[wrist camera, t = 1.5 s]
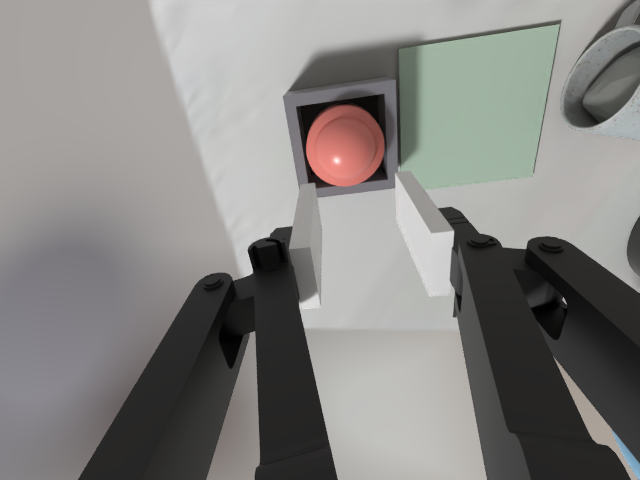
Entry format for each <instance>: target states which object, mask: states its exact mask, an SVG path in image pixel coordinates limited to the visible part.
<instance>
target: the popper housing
mask: <svg viewBox="0 0 640 480" xmlns="http://www.w3.org/2000/svg"><path fill="white" fill-rule="evenodd" d="M372 95H378V106H379V127H380V129H381V131H382V133H383V137H384V155H383V158H382V161H381V167H378V168H377V170H376V171H375V172H374V173H373V174H372V175H371V176H370V177H369V178H368V179H366V180H365V181H363V182H361V183H359V184H356V185H352V186H336V185H332V184H329V183H327V182H325V181H324V180H322V179H321V178H320V177H318V176H317V175H311V174H310V168H309V161H308V158H307V153H306V142H305V136H304V129H303V123H302V116H301V110H300V106H303V105H310V104H317V103H323V102H330V101H337V100H344V99H351V98H358V97H365V96H372ZM283 100H284V105H285V111H286V117H287V123H288V128H289V134H290V140H291V145H292V151H293V157H294V162H295V168H296V174H297V179H298V185H299V190H300V185H301V184H309V183H315V187H316V193H317V198H319V197H327V196H335V195H343V194H351V193H360V192H368V191H376V190H384V189H392V188H395V173H396V172H398V155H397V110H396V79H393V78H390V77H381V78H374V79H367V80H360V81H354V82H347V83H340V84H333V85H327V86H320V87H313V88H306V89H300V90H293V91H287V92H286V94H285V95H284V96H283Z"/></svg>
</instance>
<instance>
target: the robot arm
mask: <svg viewBox="0 0 640 480" xmlns="http://www.w3.org/2000/svg"><path fill="white" fill-rule="evenodd" d="M395 189H396V221H397V223H398V225H399V228H400V230H401V232H402V235H403V237H404V239H405V242H406V244H407V246H408V249H409V251H410V253H411V256H412V258H413V260H414V263H415V265H416V267H417V269H418V272H419V274H420V276H421V279H422V281H423V283H424V286H425V288H426V290H427V293H428V295H429V297H432V296H443V295H450V285H451V284H452V286H453V287H454V289H455V298H454V311H453V317H456V316H457V319H458V324H459V330H460V335H461V340H462V346H463V351H464V357H465V362H466V368H467V373H468V378H469V383H470V389H471V395H472V400H473V405H474V410H475V416H476V422H477V427H478V433H479V438H480V443H481V449H482V454H483V460H484V465H485V471H486V476H487V480H631V479H630V477H629V475H628V473H627V472H626V469H625V467H624V466H623V464H622V462H621V461H620V459H619V458H618V456H617V455H616V453H615V452H614V451H613V450H611V448H609V447H608V446H606V445H601V444H597V443H596V442H595V441H594V440H593V439H592V438H591V436H590V434H589V432H588V430H587V428H586V426H585V424H584V422H583V420H582V418H581V415H580V413H579V411H578V409H577V407H576V405H575V402H574V400H573V398H572V396H571V394H570V392H569V389H568V387H567V385H566V383H565V381H564V379H563V377H562V375H561V373H560V370H559V368H558V366H557V364H556V362H555V360H554V357H555V359H556V360H557V361H558V362H559V364H560V365H561V366H562V367H563V368H564V370H565V371H566V372H567V373H568V375H569V376H570V377H571V379H572V380H573V381H574V382H575V383H576V385H577V386H578V387H579V388H580V390H581V391H582V392H583V394H584V395H585V396H586V397H587V399H588V400H589V401H590V402H591V404H592V405H593V406H594V407H595V409H596V410H597V411H598V412H599V414H600V415H601V416H602V417H603V419H604V420H605V421H606V422H607V424H608V425H609V426H610V427H611V428H612V432H613V435H614V437H615V440H616V442H617V444H618V446H619V448H620V450H621V452H622V453H623V455H624V457H625V459H626V460H627V462H628V464H629V466H630V467H631V469H632V470H633V472H634V473H635V475H636V476H637V478H638V479H639V480H640V293H638V292H637V291H636V290H634V289H633V288H631V287H630V286H629V285H627V284H626V283H625V282H623V281H622V280H620V279H619V278H618V277H616V276H615V275H614V274H612V273H611V272H609V271H608V270H607V269H605V268H604V267H603V266H601V265H600V264H598V263H597V262H596V261H594V260H593V259H592V258H590V257H589V256H587V255H586V254H585V253H583V252H582V251H581V250H579V249H578V248H577V247H575V246H574V245H572V244H571V243H569V242H567V241H565V240H562V239H558V238H556V237H549V236H546V237H536V238H532V239H531V240H529V241H528V243H527V249H513V248H503V247H502V245H501V243H500V242H499V241H498V240H497V239H496V238H494V237H492V236H489V235H485V234H479V232H478V231H477V230H476V229H475V228H474V227H473V225H472V224H471V223H469V221H468V220H467V218H465V216H464V215H463V214H462V213H461V211H459V210H457V209H455V208H452V207H446V208H437V207H436V205H435V204H434V203H433V201H432V200H431V199H430V197H429V196H428V194H427V193H426V192H425V190H424V189H423V188H422V186H421V185H420V184H419V182H418V181H417V179H416V178H415V177H414V175H413V174H412V173H411V171H404V172H396V173H395ZM248 254H249V257H250V261H251V264H252V268H253V274H251V275H249V276H247V277H244V278H241V279H238V280H235V281H233V280H232V277H231V276H230V275H229V274H227V273H215V274H210V275H207V276H205V277H204V278H203V279H201V280H199V282H198V283H197V284H196V285H195V286H194V288H193V290H192V291H191V293H190V295H189V296H188V298H187V300H186V301H185V303H184V305H183V306H182V308H181V309H180V311H179V313H178V314H177V316H176V318H175V320H174V321H173V323H172V324H171V326H170V328H169V329H168V331H167V333H166V334H165V336H164V338H163V340H162V341H161V343H160V344H159V346H158V348H157V349H156V351H155V353H154V354H153V356H152V358H151V359H150V361H149V363H148V364H147V366H146V368H145V369H144V371H143V373H142V374H141V376H140V378H139V379H138V381H137V383H136V384H135V386H134V388H133V389H132V391H131V393H130V394H129V396H128V398H127V399H126V401H125V402H124V404H123V406H122V407H121V409H120V411H119V413H118V414H117V416H116V417H115V419H114V421H113V422H112V424H111V426H110V427H109V429H108V431H107V433H106V434H105V436H104V437H103V439H102V441H101V443H100V444H99V446H98V447H97V449H96V451H95V452H94V454H93V456H92V457H91V459H90V461H89V462H88V464H87V466H86V467H85V469H84V471H83V472H82V474H81V476H80V477H79V479H78V480H206V478H207V475H208V472H209V468H210V465H211V462H212V458H213V455H214V452H215V449H216V445H217V442H218V439H219V435H220V432H221V429H222V425H223V422H224V419H225V415H226V412H227V409H228V406H229V402H230V399H231V396H232V393H233V389H234V386H235V383H236V379H237V376H238V373H239V369H240V366H241V363H242V359H243V356H244V353H245V349H246V346H247V343H248V339H249V334H250V332H253V331H255V333H256V358H257V384H258V412H259V434H260V435H259V436H260V465H259V466H258V467H257V468H256V471H255V480H338V479H337V475H336V471H335V466H334V461H333V457H332V452H331V448H330V444H329V440H328V435H327V431H326V426H325V422H324V417H323V413H322V408H321V404H320V399H319V395H318V390H317V386H316V381H315V377H314V372H313V368H312V363H311V359H310V354H309V350H308V345H307V341H306V336H305V332H304V327H303V323H302V318H301V314H300V309H299V300H300V305H301V309H310V308H320V307H321V254H322V227H321V220H320V213H319V207H318V200H317V193H316V187H315V183H309V184H301V185H300V190H299V196H298V201H297V207H296V212H295V218H294V223H293V226H291V227H283V228H276V229H275V230H274V231H273V232H272V233H271V234H270V237H268V238H263V239H260V240H258V241H256V242H254V243H252V244H251V245H250V246H249V248H248ZM627 257H628V261H629V264H630V266H631V268H632V269H633V271H634V272H635V273H636V274H637V275H639V276H640V218H639V220H638V221H637V223H636V225H635V226H634V228H633V230H632V232H631V235H630V238H629V241H628V246H627ZM563 297H564V299H565V301H566V303H567V305H566V304H565V303H564V302H563V301H562V299H563ZM553 356H554V357H553Z"/></svg>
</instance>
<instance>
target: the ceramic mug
mask: <svg viewBox="0 0 640 480" xmlns="http://www.w3.org/2000/svg"><path fill="white" fill-rule="evenodd" d="M639 13H640V0H636V1H635V2H633V3H632V4H631V5H629V6H628V7H627V8H626V9H625V10H624V12H623V13H622V14H621V16H620V18H619V20H618V22H617V24H616V26H615V28H614V30H612V31H610V32H608V33H607V34H605V35H603V36H602V37H600V38H599V39H598V40H597V41H596V42H594V43H593V44H592V45H591V46H590V47H589V48H588V49H587V50H586V51H585V52H584V54H583V55H582V56H581V57H580V59H579V60H578V61H577V63H576V64H575V66H574V67H573V69H572V71H571V73H570V75H569V76H568V79H567V81H566V83H565V86H564V88H563V92H562V96H561V108H560V109H561V115H562V117H563V119H564V121H565V123H566V124H567V125H568V126H569V127H570V128H572V129H574V130H576V131H580V132H586V133H593V134H600V135H606V136H613V137H620V138H628V139H633V140H640V25H635V21H636V19H637V17H638V15H639Z"/></svg>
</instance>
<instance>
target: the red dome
mask: <svg viewBox="0 0 640 480" xmlns="http://www.w3.org/2000/svg"><path fill="white" fill-rule="evenodd" d="M306 153H307V158H308V161H309V164H310V166H311V168H312V170H313V171H314V172H315V174H316V175H317V176H318V177H320V178H321V179H322V180H324V181H325V182H327V183H329V184H332V185H336V186H352V185H356V184H359V183H361V182H363V181H365V180H366V179H368V178H369V177H370V176H371V175H372V174H373V173H374V172H375V171H376V170H377V168H378V167H379V165H380V163H381V161H382V158H383V155H384V137H383V133H382V131H381V129H380V127H379V125H378V124H377V122H376V121H375V120H374V118H373V117H372V116H371V114H370V113H369V112H368V111H367V110H365V109H364V108H362V107H360V106H358V105H356V104H352V103H337V104H334V105H331V106H329V107H327V108H325V109H324V110H322V111H321V112H320V113H319V114H318V115H317V116H316V117H315V119H314V120H313V122H312V124H311V126H310V129H309V133H308V138H307V144H306Z"/></svg>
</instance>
